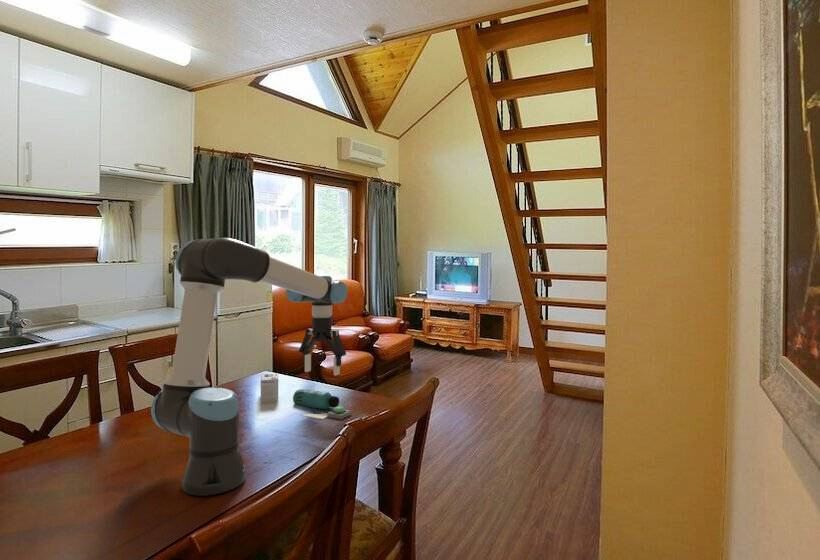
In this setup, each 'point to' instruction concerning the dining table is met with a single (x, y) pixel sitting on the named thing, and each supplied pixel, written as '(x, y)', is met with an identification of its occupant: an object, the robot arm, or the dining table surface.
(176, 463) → the dining table surface
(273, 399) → the light bulb box
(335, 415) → the button box
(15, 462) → the dining table surface
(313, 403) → the beverage bottle
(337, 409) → the button
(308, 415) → the cream rectangular board
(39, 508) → the dining table surface
